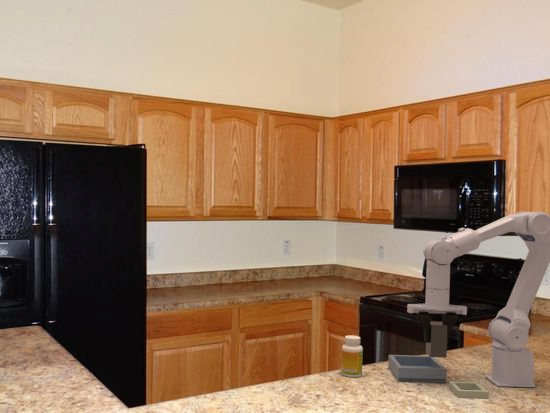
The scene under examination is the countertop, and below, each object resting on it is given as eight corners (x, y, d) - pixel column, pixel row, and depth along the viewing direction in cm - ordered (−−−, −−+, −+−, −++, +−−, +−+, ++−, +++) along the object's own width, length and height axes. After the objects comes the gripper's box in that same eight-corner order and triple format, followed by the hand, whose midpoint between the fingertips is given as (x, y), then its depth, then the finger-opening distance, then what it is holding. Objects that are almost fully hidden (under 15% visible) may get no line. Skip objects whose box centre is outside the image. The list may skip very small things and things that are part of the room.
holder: (477, 388, 134) (477, 382, 134) (488, 398, 127) (488, 391, 127) (448, 387, 134) (448, 381, 134) (458, 397, 127) (458, 391, 127)
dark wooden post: (441, 353, 140) (442, 321, 140) (446, 357, 136) (447, 325, 136) (425, 352, 140) (426, 321, 140) (430, 357, 136) (431, 324, 136)
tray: (432, 368, 150) (432, 356, 150) (446, 383, 138) (446, 369, 138) (388, 367, 150) (388, 354, 150) (398, 381, 138) (398, 367, 138)
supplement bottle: (361, 378, 140) (362, 340, 140) (340, 376, 141) (341, 338, 141) (362, 372, 145) (363, 335, 145) (342, 370, 146) (343, 333, 146)
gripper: (460, 286, 143) (458, 339, 143) (405, 285, 143) (403, 337, 143) (470, 290, 136) (468, 345, 136) (412, 289, 136) (410, 344, 136)
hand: (435, 342), depth 139 cm, fingers closed on dark wooden post, 4 cm apart
